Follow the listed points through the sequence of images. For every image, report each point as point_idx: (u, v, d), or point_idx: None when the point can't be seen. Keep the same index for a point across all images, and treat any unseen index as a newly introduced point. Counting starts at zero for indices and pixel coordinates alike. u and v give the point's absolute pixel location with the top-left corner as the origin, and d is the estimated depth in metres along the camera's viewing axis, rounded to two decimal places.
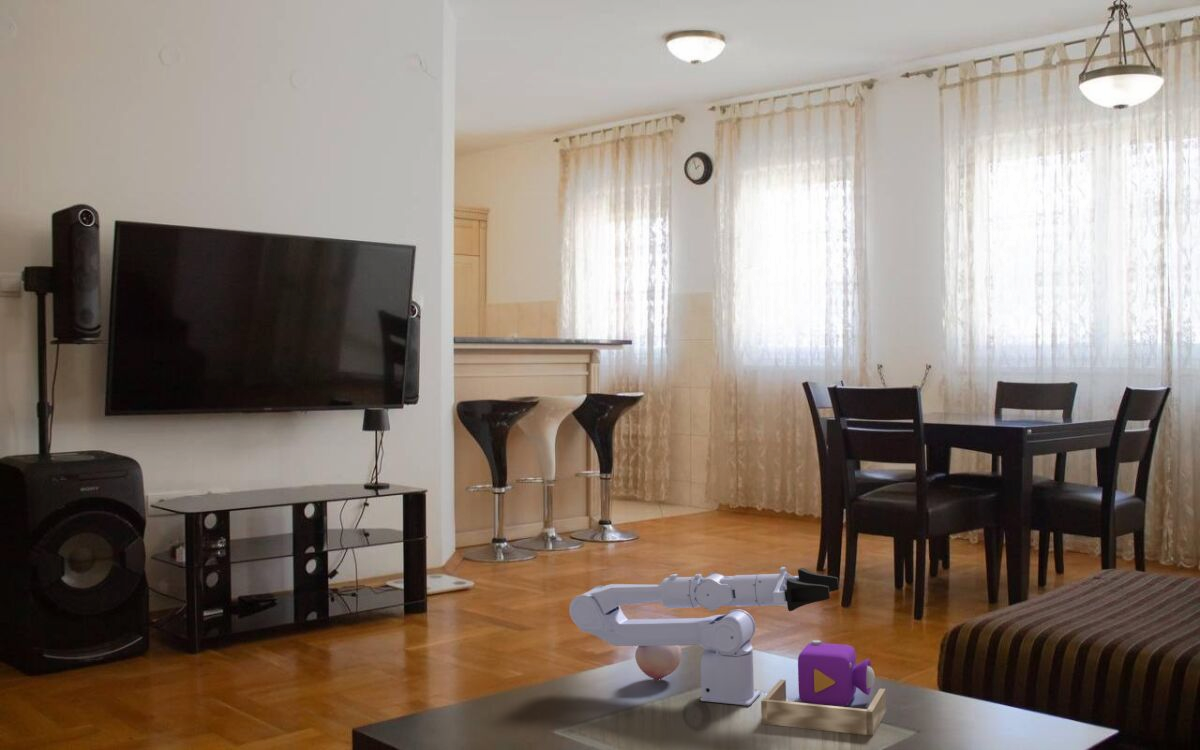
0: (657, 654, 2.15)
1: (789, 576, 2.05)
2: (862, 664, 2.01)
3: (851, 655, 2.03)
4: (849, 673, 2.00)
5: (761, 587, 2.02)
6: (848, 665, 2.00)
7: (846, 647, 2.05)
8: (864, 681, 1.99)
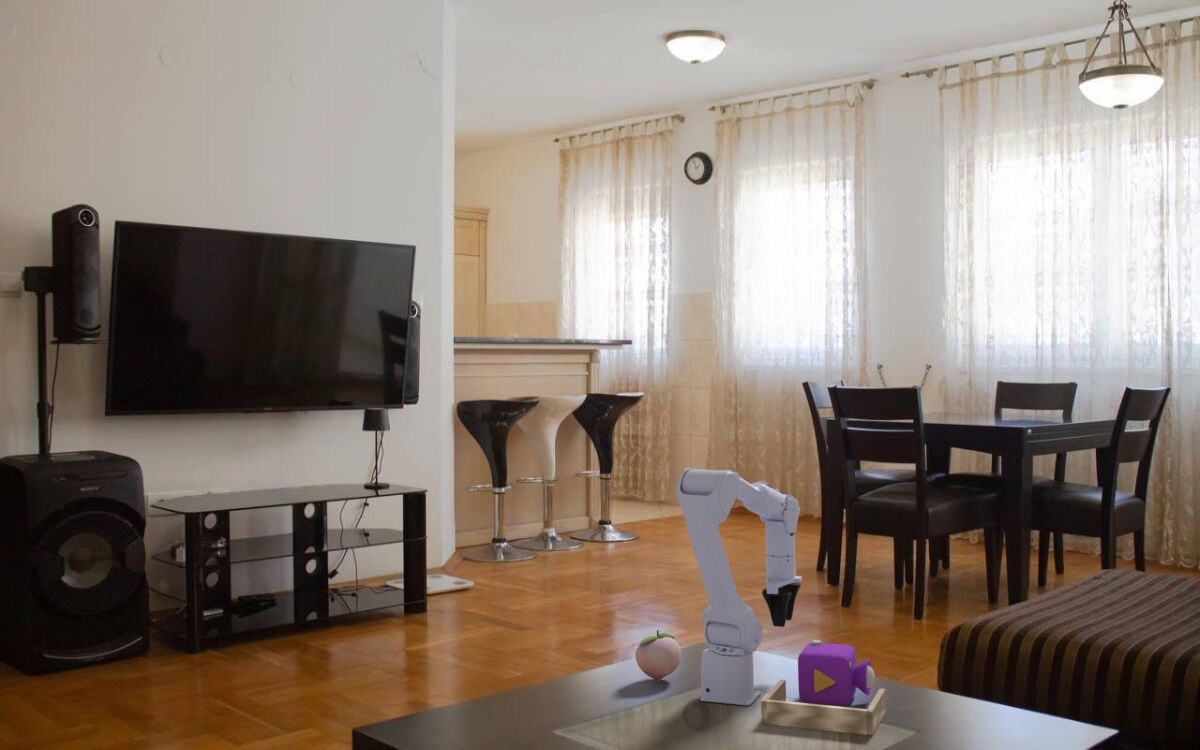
0: (657, 654, 2.15)
1: None
2: (862, 664, 2.01)
3: (851, 655, 2.03)
4: (849, 673, 2.00)
5: (782, 562, 2.18)
6: (848, 665, 2.00)
7: (846, 647, 2.05)
8: (864, 681, 1.99)
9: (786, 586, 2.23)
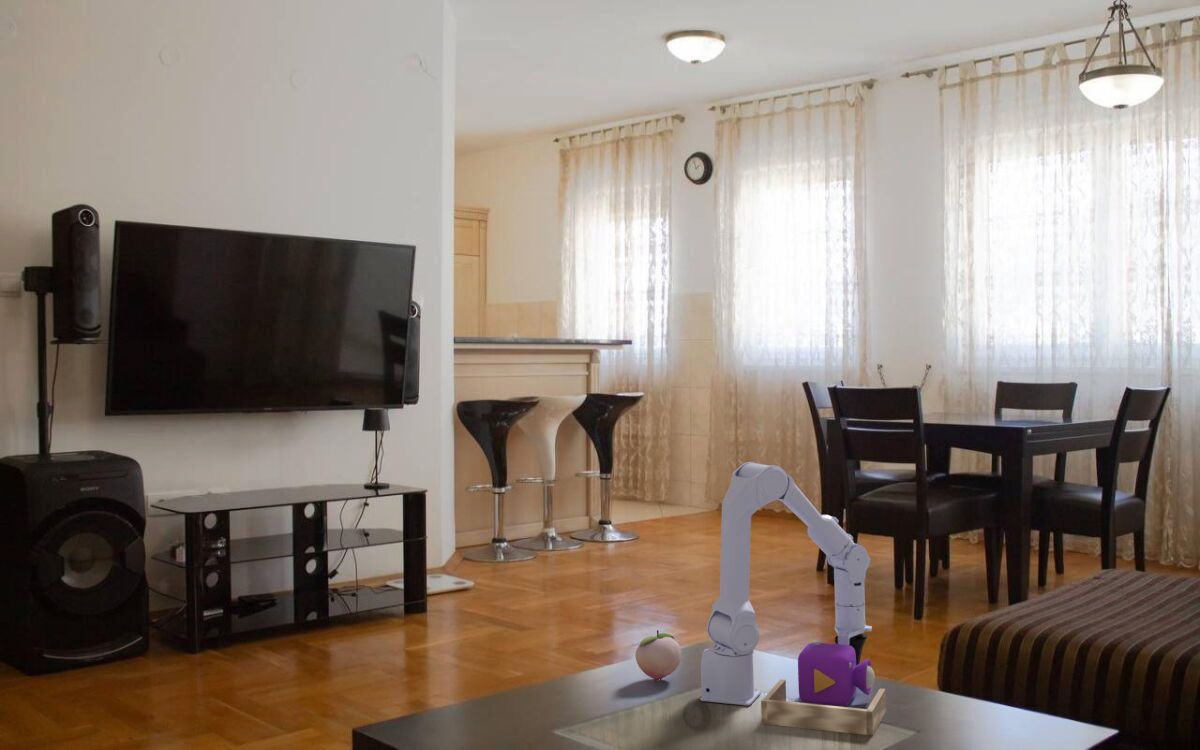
0: (657, 654, 2.15)
1: None
2: (862, 664, 2.01)
3: (851, 655, 2.03)
4: (849, 673, 2.00)
5: (852, 612, 2.14)
6: (848, 665, 2.00)
7: (846, 647, 2.05)
8: (864, 681, 1.99)
9: None
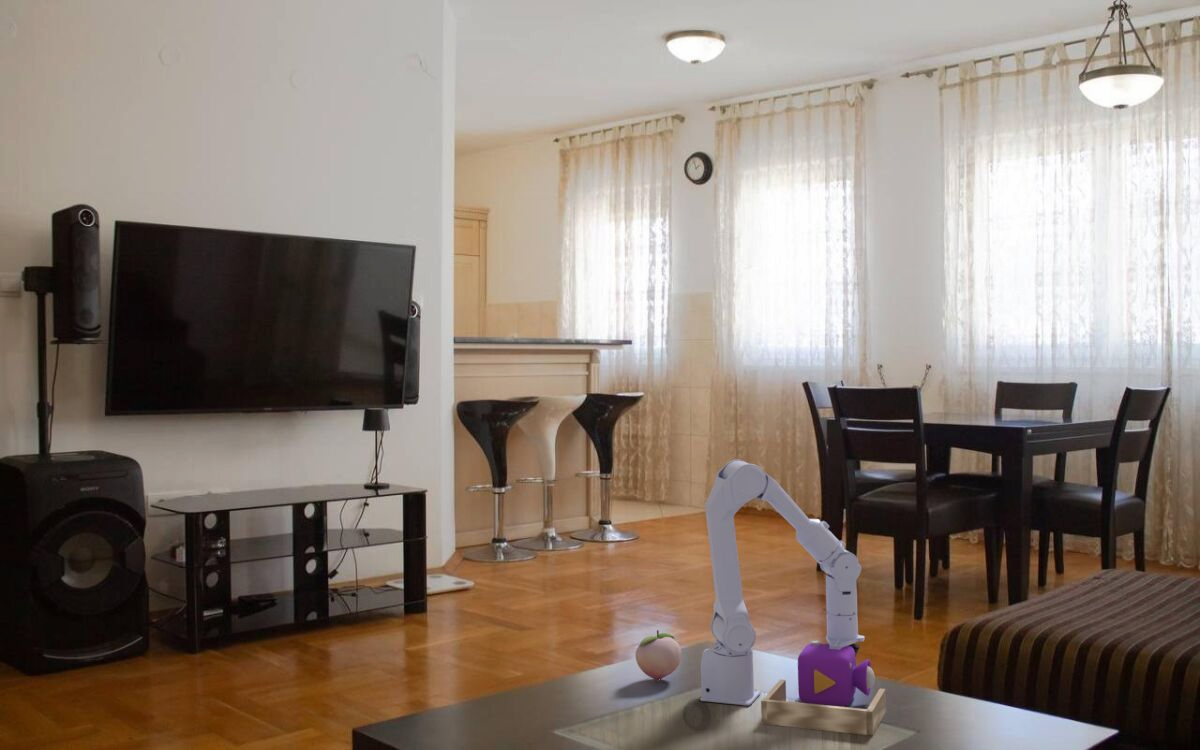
0: (657, 654, 2.15)
1: None
2: (862, 664, 2.01)
3: (851, 655, 2.02)
4: (849, 674, 1.99)
5: (844, 621, 2.07)
6: (848, 666, 1.99)
7: (846, 647, 2.05)
8: (864, 682, 1.99)
9: None
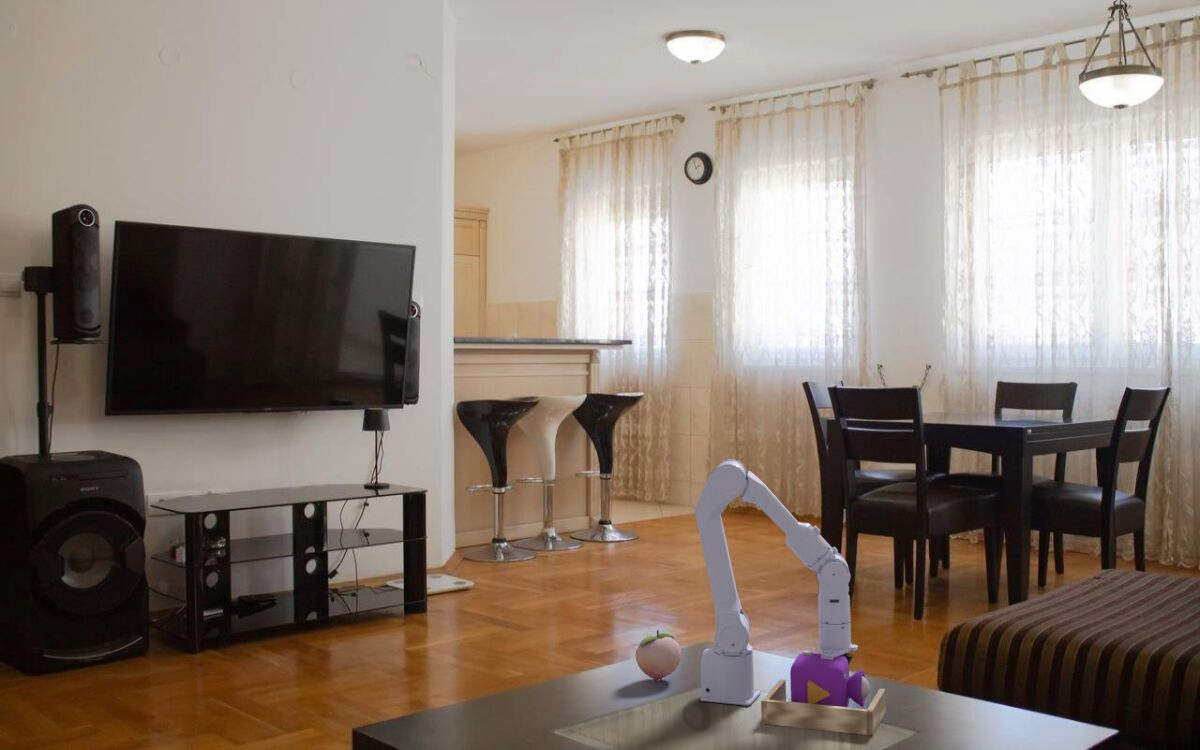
0: (657, 654, 2.15)
1: None
2: (857, 675, 1.95)
3: (845, 666, 1.96)
4: (844, 684, 1.93)
5: (837, 630, 2.01)
6: (843, 676, 1.93)
7: (839, 657, 1.98)
8: (859, 692, 1.93)
9: None
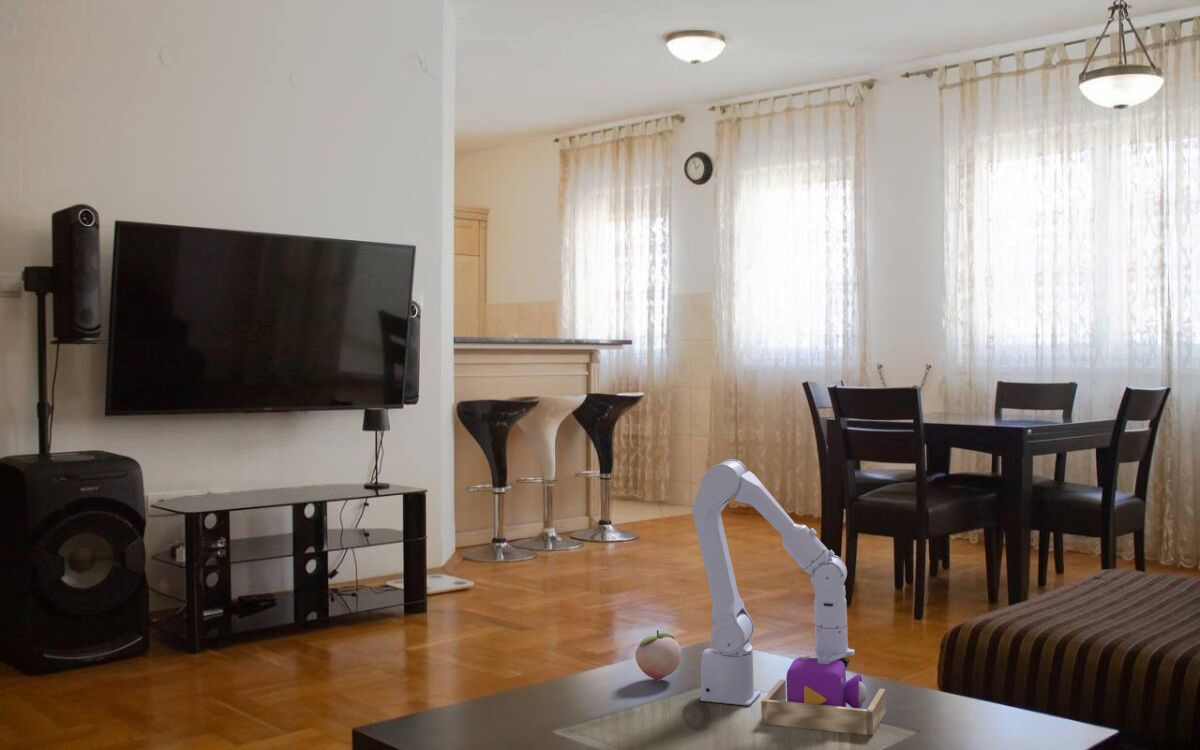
0: (657, 654, 2.15)
1: None
2: (854, 680, 1.92)
3: (842, 670, 1.93)
4: (841, 689, 1.91)
5: (833, 634, 1.98)
6: (840, 681, 1.90)
7: (836, 662, 1.96)
8: (856, 698, 1.90)
9: None
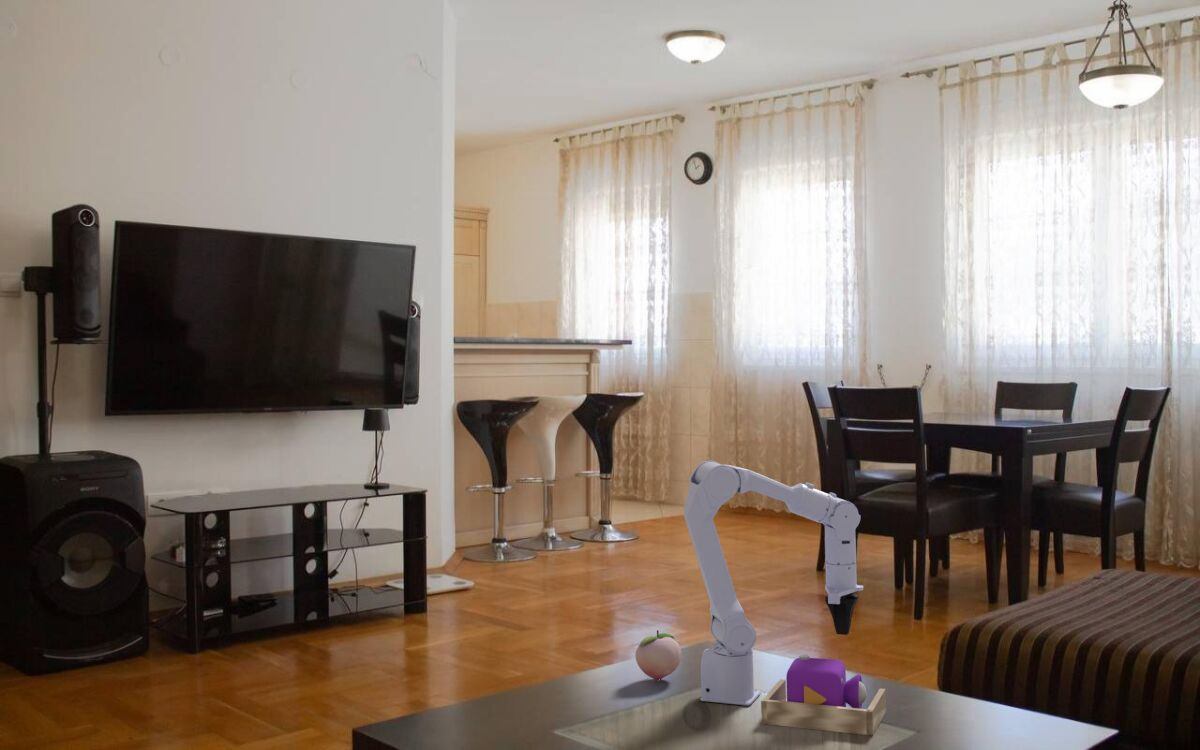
0: (657, 654, 2.15)
1: None
2: (854, 680, 1.92)
3: (842, 670, 1.93)
4: (841, 689, 1.91)
5: (843, 571, 2.08)
6: (840, 681, 1.90)
7: (836, 662, 1.96)
8: (856, 698, 1.90)
9: None
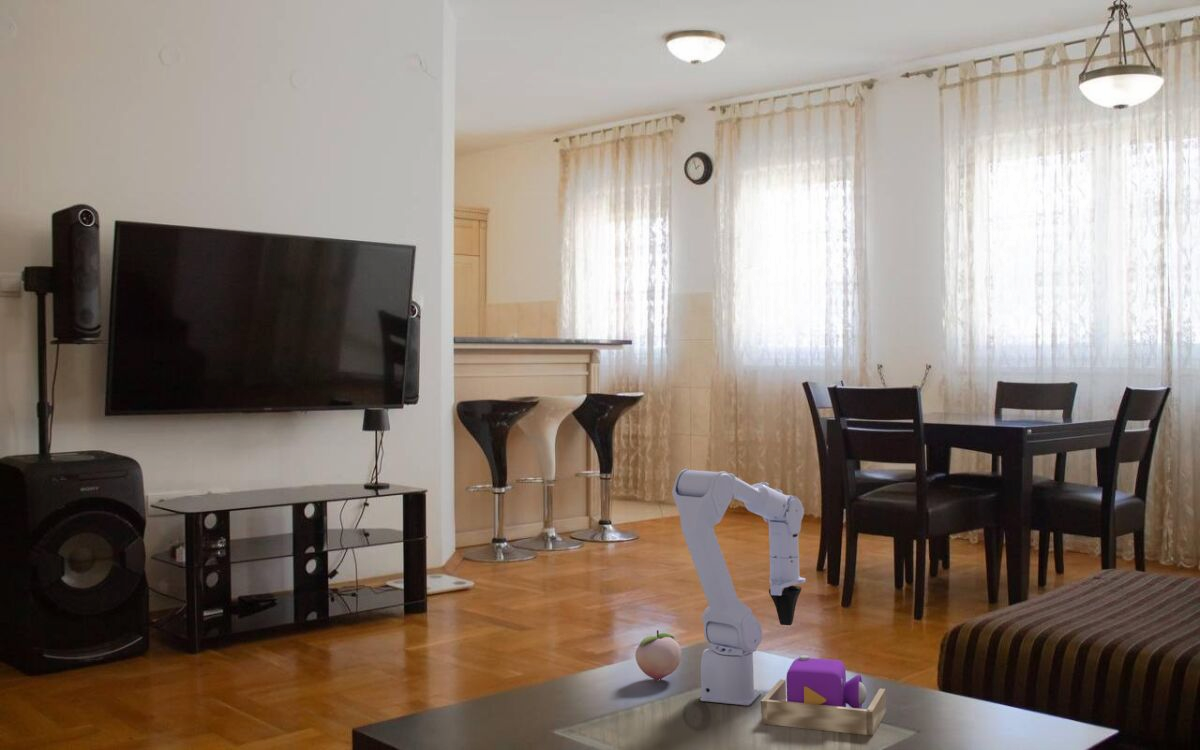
0: (657, 654, 2.15)
1: None
2: (854, 680, 1.92)
3: (842, 671, 1.93)
4: (841, 690, 1.91)
5: (786, 563, 2.16)
6: (840, 682, 1.90)
7: (836, 662, 1.96)
8: (856, 698, 1.90)
9: None
